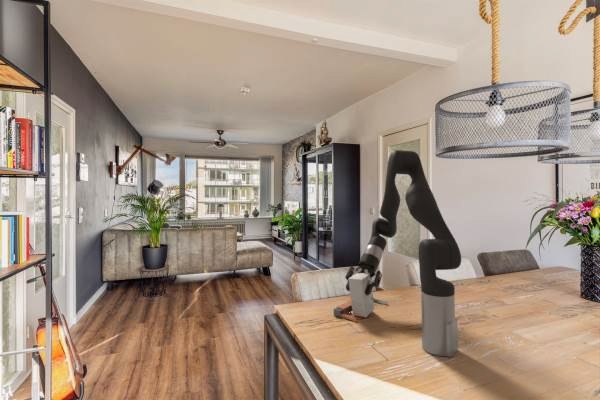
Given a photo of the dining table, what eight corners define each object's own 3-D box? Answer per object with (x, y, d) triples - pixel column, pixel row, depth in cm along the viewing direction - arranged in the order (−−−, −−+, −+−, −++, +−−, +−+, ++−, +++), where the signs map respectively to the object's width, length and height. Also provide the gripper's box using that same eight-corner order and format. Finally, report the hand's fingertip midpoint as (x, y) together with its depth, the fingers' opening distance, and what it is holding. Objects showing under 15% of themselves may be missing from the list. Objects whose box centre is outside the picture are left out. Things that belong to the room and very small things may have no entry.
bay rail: (367, 299, 141) (366, 292, 141) (387, 304, 134) (387, 297, 134) (333, 315, 122) (333, 308, 122) (355, 322, 115) (355, 314, 115)
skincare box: (366, 318, 118) (361, 280, 117) (351, 315, 122) (347, 278, 120) (375, 308, 125) (371, 272, 123) (361, 306, 128) (357, 271, 127)
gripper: (353, 250, 133) (337, 283, 124) (383, 254, 123) (369, 290, 115) (360, 261, 137) (345, 293, 128) (390, 265, 127) (376, 301, 119)
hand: (356, 292), depth 121 cm, fingers open, 8 cm apart
